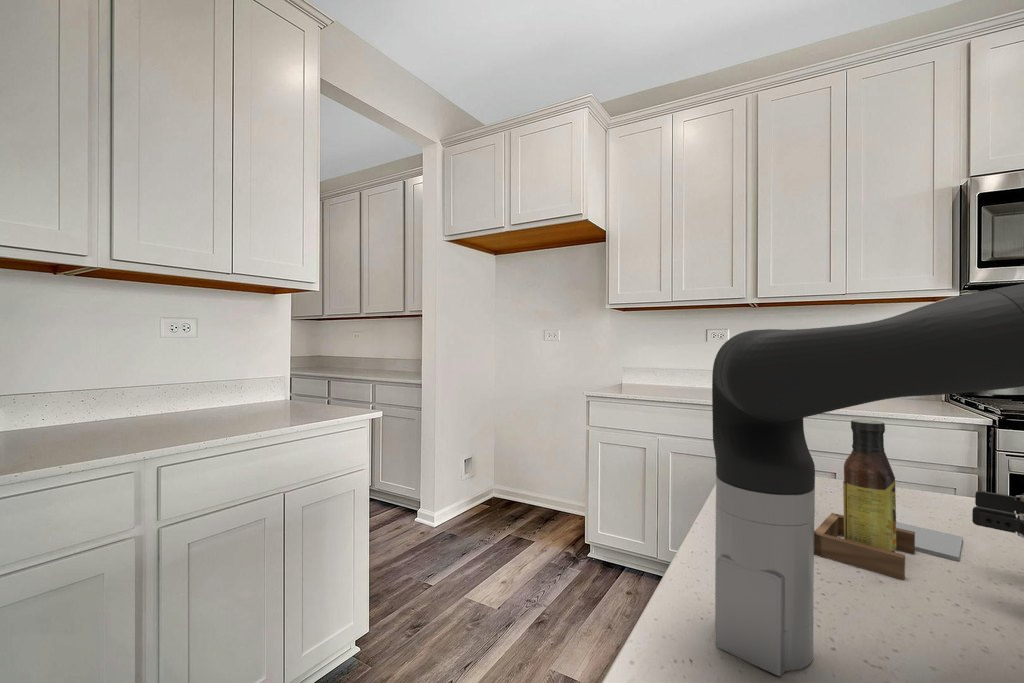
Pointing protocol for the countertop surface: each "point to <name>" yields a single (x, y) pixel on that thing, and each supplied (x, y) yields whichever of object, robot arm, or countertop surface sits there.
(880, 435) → the sauce bottle
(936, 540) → the felt mat
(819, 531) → the walnut cradle
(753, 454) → the robot arm
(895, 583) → the countertop surface
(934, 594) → the countertop surface
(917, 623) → the countertop surface
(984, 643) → the countertop surface
